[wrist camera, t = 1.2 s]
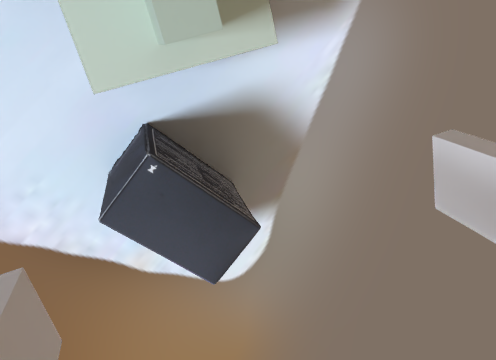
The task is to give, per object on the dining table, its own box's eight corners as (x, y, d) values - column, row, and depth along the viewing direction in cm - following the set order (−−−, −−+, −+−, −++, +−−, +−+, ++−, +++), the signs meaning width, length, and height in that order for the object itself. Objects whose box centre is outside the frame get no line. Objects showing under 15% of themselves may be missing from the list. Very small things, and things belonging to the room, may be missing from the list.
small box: (103, 177, 37) (91, 223, 28) (144, 120, 37) (147, 147, 27) (196, 233, 41) (214, 290, 32) (235, 182, 41) (265, 225, 31)
